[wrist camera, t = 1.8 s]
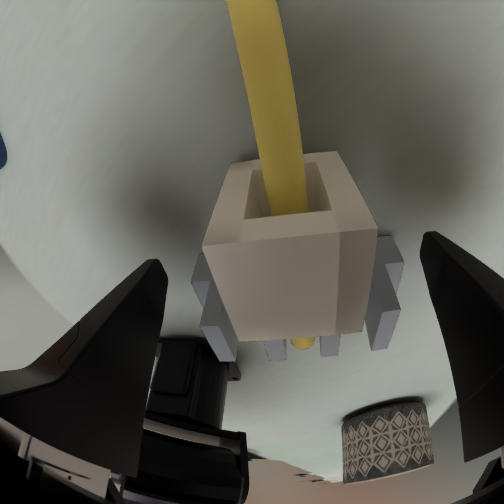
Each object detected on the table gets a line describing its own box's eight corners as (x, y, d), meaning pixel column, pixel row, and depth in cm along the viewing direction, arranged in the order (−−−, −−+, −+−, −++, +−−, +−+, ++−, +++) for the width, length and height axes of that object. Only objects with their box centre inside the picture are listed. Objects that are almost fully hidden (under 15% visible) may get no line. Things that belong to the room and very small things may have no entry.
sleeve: (339, 236, 12) (362, 331, 8) (250, 245, 13) (239, 341, 9) (336, 151, 10) (378, 228, 6) (230, 163, 10) (201, 246, 6)
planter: (429, 386, 26) (442, 460, 18) (419, 411, 33) (426, 466, 25) (334, 410, 30) (336, 485, 22) (346, 428, 37) (348, 484, 29)
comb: (384, 277, 15) (405, 345, 11) (214, 292, 16) (200, 361, 13) (391, 235, 13) (422, 305, 9) (199, 254, 15) (177, 326, 11)
